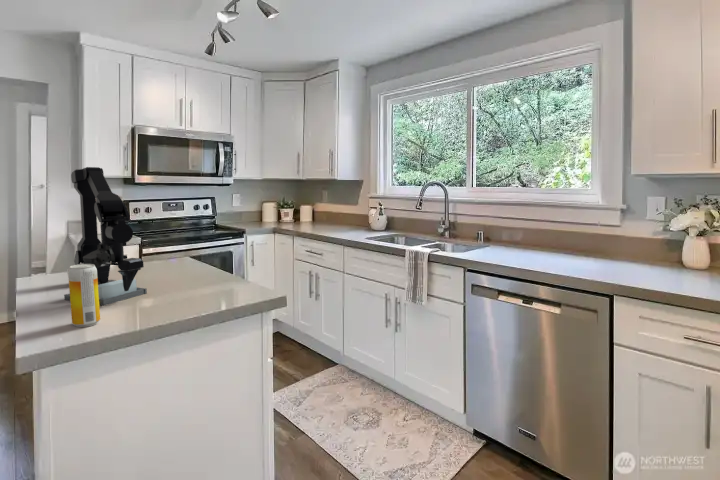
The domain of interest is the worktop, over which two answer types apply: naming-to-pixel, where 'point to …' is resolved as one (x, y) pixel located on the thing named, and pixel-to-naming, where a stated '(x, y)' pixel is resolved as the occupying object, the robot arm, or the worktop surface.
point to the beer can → (84, 295)
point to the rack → (116, 298)
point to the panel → (114, 289)
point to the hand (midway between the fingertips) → (115, 289)
